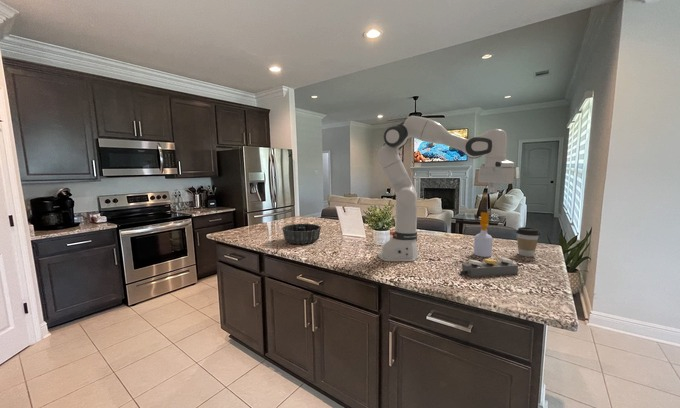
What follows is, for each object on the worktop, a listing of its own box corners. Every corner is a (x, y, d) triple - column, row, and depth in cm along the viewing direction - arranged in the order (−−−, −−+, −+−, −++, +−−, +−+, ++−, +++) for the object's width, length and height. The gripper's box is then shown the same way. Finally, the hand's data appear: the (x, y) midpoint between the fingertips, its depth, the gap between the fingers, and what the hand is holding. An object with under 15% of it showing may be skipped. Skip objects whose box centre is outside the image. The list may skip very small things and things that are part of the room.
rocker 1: (472, 264, 130) (473, 261, 129) (468, 261, 133) (468, 259, 133) (482, 265, 131) (482, 263, 130) (477, 263, 134) (478, 260, 134)
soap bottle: (473, 255, 160) (475, 212, 157) (474, 251, 168) (476, 210, 165) (491, 258, 156) (494, 213, 153) (491, 253, 164) (493, 211, 161)
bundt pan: (328, 239, 199) (328, 225, 197) (305, 248, 176) (304, 232, 175) (299, 235, 212) (299, 222, 211) (274, 243, 190) (273, 228, 189)
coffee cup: (531, 252, 167) (533, 227, 165) (542, 258, 155) (545, 231, 154) (510, 251, 168) (512, 226, 166) (520, 257, 156) (522, 230, 155)
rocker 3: (503, 261, 132) (504, 259, 132) (498, 259, 136) (498, 257, 135) (512, 263, 133) (513, 260, 133) (507, 261, 137) (507, 258, 137)
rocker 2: (487, 263, 131) (488, 260, 131) (483, 261, 134) (483, 258, 134) (497, 263, 132) (497, 261, 132) (492, 261, 135) (492, 259, 135)
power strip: (465, 277, 127) (465, 268, 127) (456, 272, 134) (456, 263, 134) (517, 273, 132) (518, 264, 132) (506, 268, 139) (506, 259, 139)
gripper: (475, 164, 146) (473, 191, 148) (505, 163, 126) (503, 194, 128) (486, 164, 147) (484, 190, 149) (517, 163, 127) (515, 194, 129)
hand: (493, 192), depth 138 cm, fingers closed
